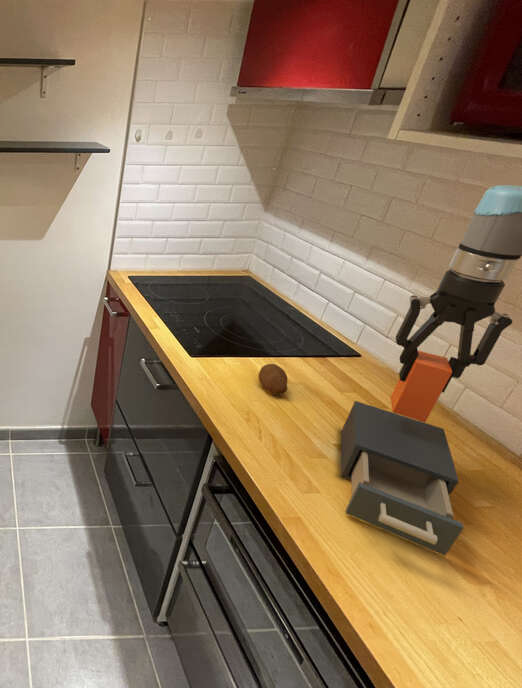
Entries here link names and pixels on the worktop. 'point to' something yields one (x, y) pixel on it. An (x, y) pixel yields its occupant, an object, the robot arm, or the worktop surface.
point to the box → (421, 386)
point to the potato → (273, 379)
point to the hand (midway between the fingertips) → (420, 382)
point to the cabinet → (396, 442)
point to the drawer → (403, 502)
